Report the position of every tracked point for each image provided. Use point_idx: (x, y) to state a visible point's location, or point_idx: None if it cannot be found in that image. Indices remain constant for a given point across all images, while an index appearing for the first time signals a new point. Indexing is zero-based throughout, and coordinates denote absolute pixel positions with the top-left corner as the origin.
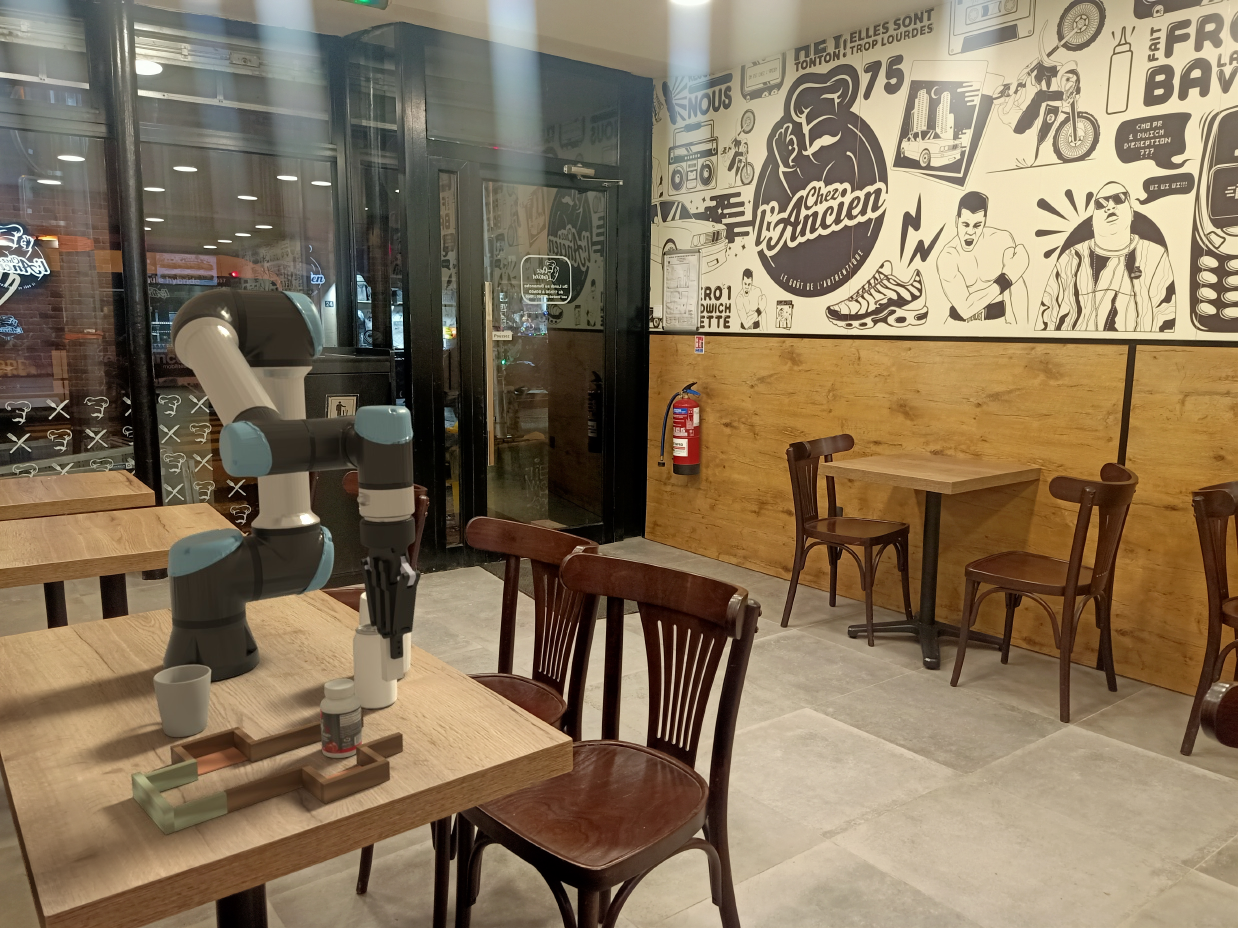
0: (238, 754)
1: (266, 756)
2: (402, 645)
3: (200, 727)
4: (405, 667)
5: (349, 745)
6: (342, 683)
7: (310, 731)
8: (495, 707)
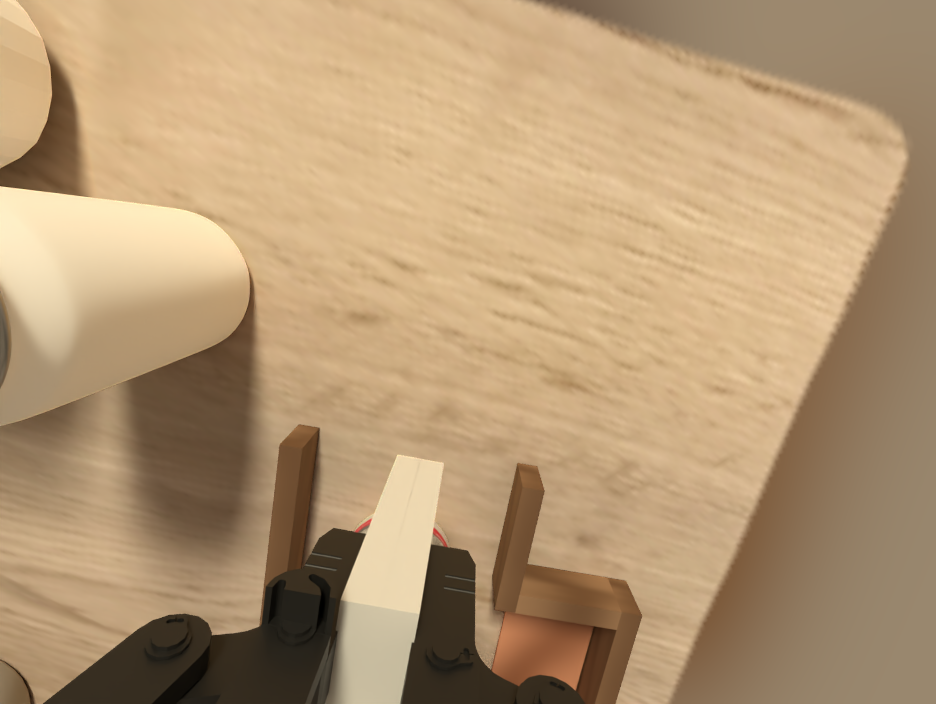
0: None
1: None
2: (473, 605)
3: (17, 695)
4: (30, 40)
5: None
6: None
7: None
8: (551, 55)
